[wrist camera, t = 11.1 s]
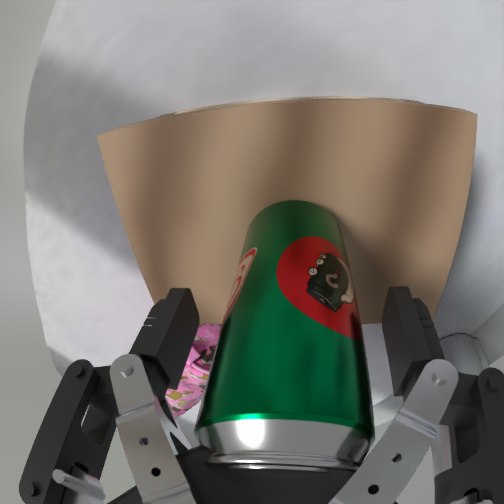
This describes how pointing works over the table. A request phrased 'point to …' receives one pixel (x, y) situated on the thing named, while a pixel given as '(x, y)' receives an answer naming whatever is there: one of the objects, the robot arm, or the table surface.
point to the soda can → (289, 353)
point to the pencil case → (195, 370)
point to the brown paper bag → (295, 190)
